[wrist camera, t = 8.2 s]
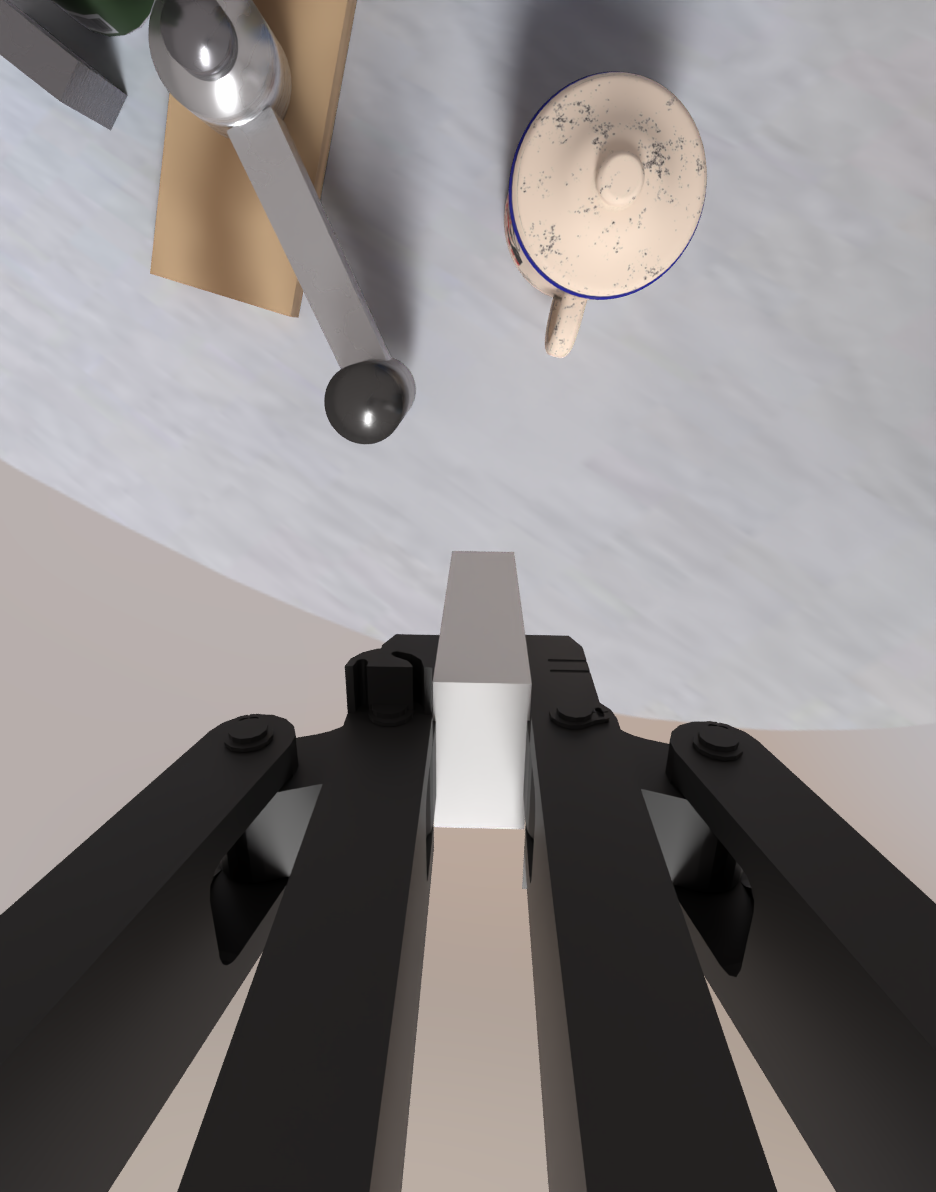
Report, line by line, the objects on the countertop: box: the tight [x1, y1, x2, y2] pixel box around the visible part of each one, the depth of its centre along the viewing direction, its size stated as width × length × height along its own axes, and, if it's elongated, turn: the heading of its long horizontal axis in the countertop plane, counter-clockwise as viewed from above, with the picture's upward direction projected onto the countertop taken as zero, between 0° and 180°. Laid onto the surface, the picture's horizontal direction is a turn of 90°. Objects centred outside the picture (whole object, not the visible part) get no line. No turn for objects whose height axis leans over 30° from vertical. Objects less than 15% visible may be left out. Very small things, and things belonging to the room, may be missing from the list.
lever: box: [149, 0, 416, 444], centre depth 31 cm, size 28×5×9 cm, turn 24°
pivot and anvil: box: [0, 0, 288, 130], centre depth 32 cm, size 15×6×10 cm, turn 74°
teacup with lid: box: [504, 71, 707, 358], centre depth 34 cm, size 12×9×12 cm
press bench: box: [150, 0, 357, 317], centre depth 36 cm, size 8×18×2 cm, turn 164°
